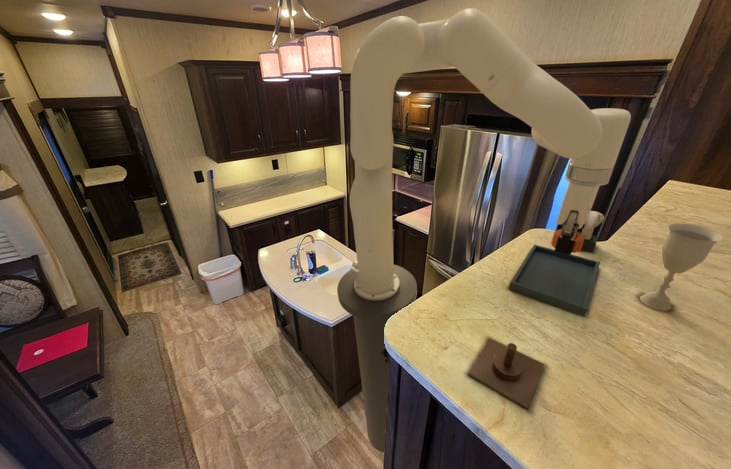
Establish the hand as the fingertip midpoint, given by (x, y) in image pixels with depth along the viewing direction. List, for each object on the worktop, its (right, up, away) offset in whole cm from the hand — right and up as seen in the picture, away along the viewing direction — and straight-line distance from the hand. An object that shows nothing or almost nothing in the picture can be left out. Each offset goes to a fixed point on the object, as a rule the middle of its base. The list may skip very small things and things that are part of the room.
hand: (565, 245), depth 69 cm
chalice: (+17, -13, -4) cm, 22 cm away
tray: (+1, -9, +5) cm, 10 cm away
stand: (-22, -22, -16) cm, 35 cm away
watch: (+16, -1, +17) cm, 23 cm away
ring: (0, 0, 0) cm, 0 cm away
